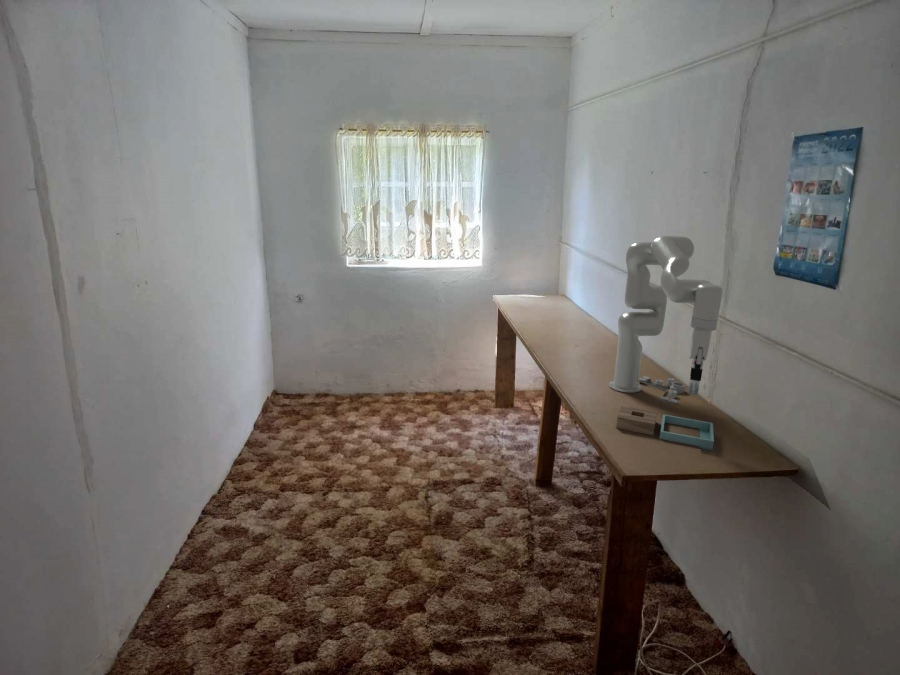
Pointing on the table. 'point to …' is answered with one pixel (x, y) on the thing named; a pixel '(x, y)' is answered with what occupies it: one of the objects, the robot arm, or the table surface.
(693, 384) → the pin
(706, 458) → the table surface
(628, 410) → the block
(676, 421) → the tray
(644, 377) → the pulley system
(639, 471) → the table surface
